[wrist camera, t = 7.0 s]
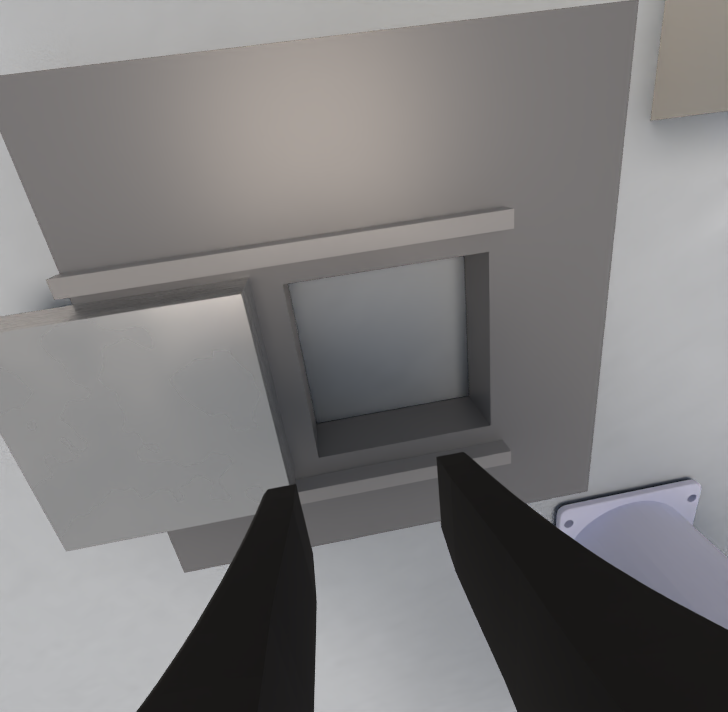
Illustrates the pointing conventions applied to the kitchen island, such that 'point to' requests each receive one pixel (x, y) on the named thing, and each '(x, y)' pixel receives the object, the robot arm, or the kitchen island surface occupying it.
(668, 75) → the plug
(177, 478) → the shutter
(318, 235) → the socket plate
